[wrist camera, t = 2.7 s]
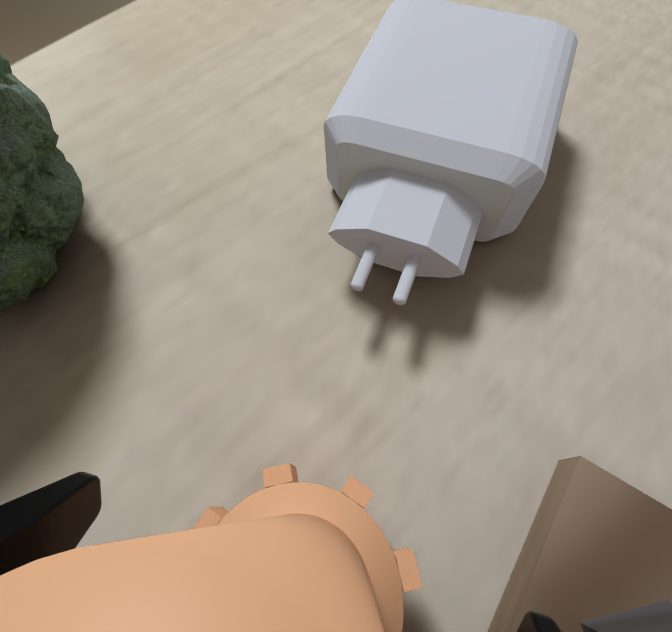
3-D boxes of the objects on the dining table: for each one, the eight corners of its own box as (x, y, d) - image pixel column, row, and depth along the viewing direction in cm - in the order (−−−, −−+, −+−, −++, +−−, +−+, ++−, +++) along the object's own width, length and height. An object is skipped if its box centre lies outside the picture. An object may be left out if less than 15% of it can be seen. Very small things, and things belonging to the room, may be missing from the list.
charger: (277, 290, 19) (383, 81, 24) (478, 358, 17) (541, 117, 23) (255, 225, 14) (390, -11, 20) (522, 308, 13) (586, 26, 18)
